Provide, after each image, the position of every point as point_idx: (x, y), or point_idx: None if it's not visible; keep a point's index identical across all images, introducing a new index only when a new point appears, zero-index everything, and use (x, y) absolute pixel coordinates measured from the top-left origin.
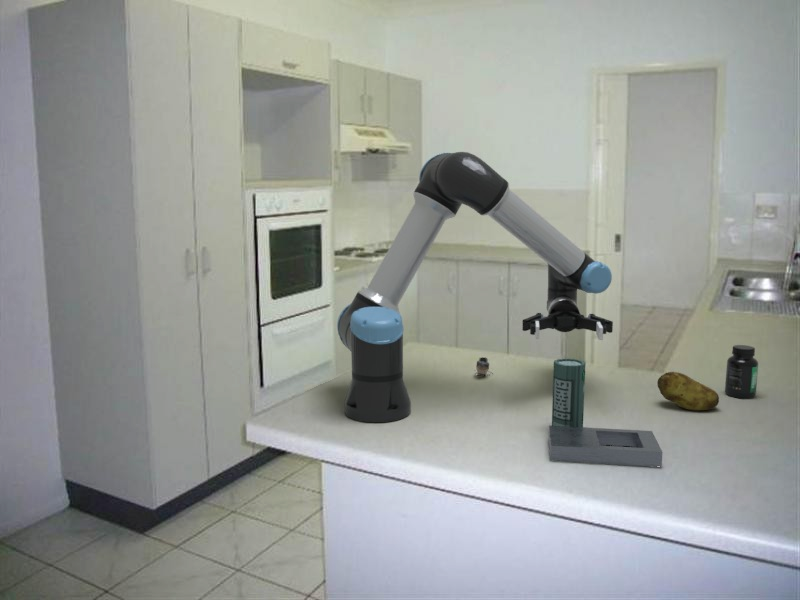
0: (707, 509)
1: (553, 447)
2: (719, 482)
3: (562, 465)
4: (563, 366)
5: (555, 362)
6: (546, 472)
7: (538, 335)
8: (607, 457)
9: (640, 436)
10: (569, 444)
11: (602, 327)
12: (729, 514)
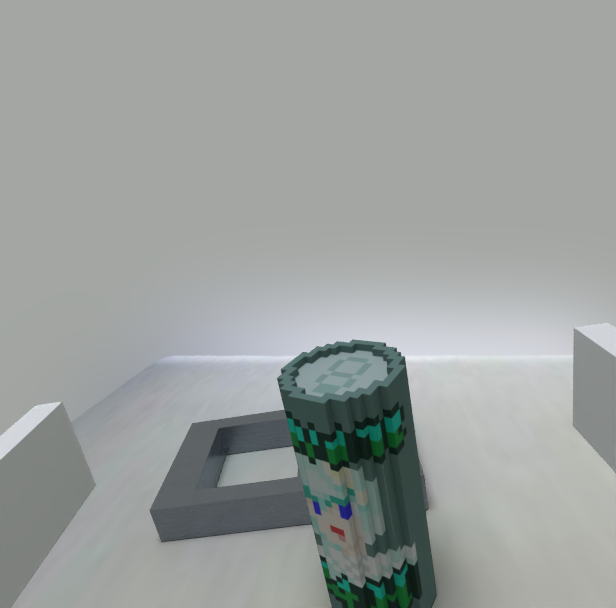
0: (202, 377)
1: None
2: (137, 431)
3: None
4: (363, 344)
5: (396, 353)
6: None
7: (579, 398)
8: None
9: (197, 473)
10: None
11: (24, 416)
12: (184, 376)
